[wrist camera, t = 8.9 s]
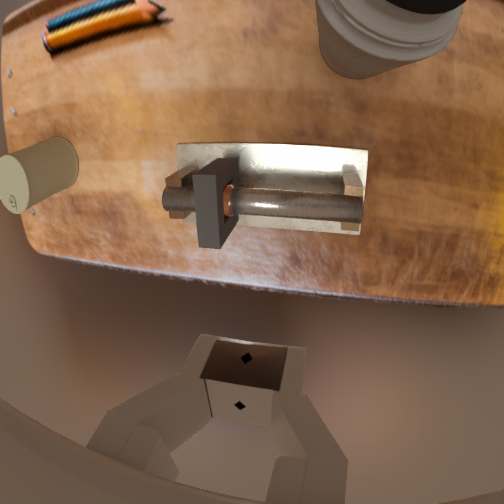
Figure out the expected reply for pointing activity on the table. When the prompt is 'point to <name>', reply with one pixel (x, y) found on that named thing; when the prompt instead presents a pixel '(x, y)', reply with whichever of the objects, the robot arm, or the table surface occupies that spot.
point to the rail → (278, 185)
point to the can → (37, 173)
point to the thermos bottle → (383, 33)
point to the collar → (214, 202)
